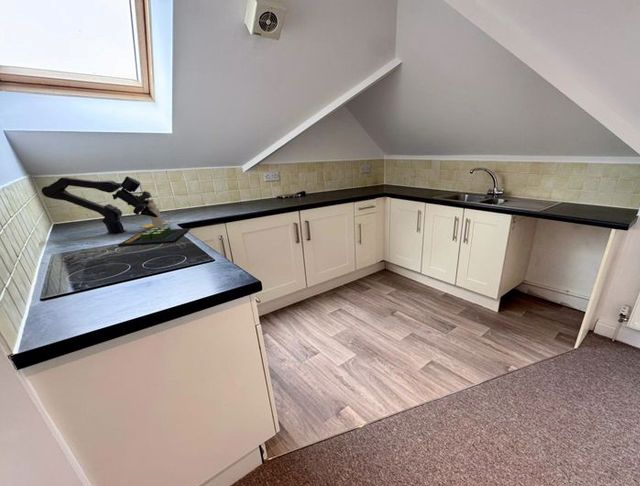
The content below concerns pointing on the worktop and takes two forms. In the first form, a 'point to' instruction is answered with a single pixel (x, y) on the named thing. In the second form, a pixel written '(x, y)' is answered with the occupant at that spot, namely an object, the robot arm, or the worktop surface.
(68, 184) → the robot arm
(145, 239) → the sushi
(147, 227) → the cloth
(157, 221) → the toy rabbit
